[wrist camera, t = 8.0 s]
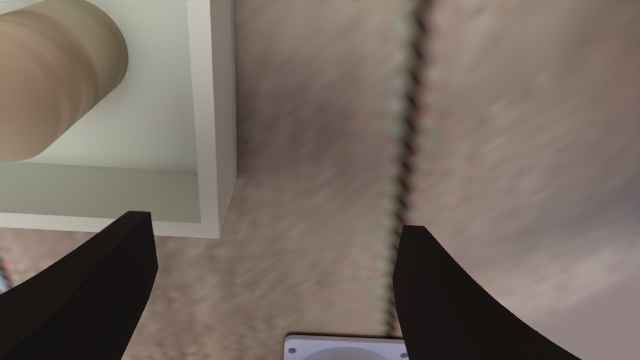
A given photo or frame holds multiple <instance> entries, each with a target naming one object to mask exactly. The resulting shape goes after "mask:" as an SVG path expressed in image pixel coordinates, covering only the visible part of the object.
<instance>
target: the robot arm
mask: <svg viewBox="0 0 640 360" xmlns="http://www.w3.org/2000/svg"><path fill="white" fill-rule="evenodd" d="M157 271H158V262H157V255H156V247H155V240H154V232H153V225H152V218H151V212H147V211H127V212H126V213H124V214H123V215H122V216H120V217H119V218H117V219H116V220H115V221H113V222H112V223H111V224H109V225H108V226H107V227H105V228H104V229H103V230H101V231H100V232H98V233H97V234H96V235H94V236H93V237H92V238H90V239H89V240H87V241H86V242H85V243H83V244H82V245H80V246H79V247H78V248H76V249H75V250H73V251H72V252H70V253H69V254H67V255H66V256H64V257H63V258H61V259H60V260H58V261H57V262H55V263H54V264H52V265H51V266H49V267H48V268H46V269H44V270H43V271H41V272H40V273H38V274H36V275H35V276H33V277H31V278H30V279H28V280H26V281H25V282H23V283H21V284H19V285H17V286H15V287H14V288H12V289H10V290H8V291H6V292H4V293H3V294H1V295H0V360H121V358H122V356H123V354H124V352H125V350H126V347H127V345H128V343H129V341H130V339H131V337H132V335H133V332H134V330H135V328H136V326H137V324H138V322H139V320H140V317H141V315H142V313H143V311H144V309H145V306H146V304H147V302H148V300H149V297H150V294H151V291H152V287H153V284H154V281H155V277H156V274H157ZM393 288H394V297H395V304H396V311H397V315H398V319H399V323H400V327H401V331H402V335H403V339H404V340H396V339H373V338H351V337H328V336H306V335H290V336H287V337H286V338H285V343H284V360H581V359H580V358H578V357H576V356H575V355H573V354H571V353H569V352H568V351H566V350H565V349H563V348H561V347H560V346H558V345H556V344H555V343H553V342H552V341H550V340H549V339H547V338H546V337H544V336H543V335H542V334H540V333H539V332H537V331H536V330H534V329H533V328H531V327H530V326H528V325H527V324H526V323H524V322H523V321H522V320H520V319H519V318H518V317H516V316H515V315H514V314H513V313H511V312H510V311H509V310H508V309H506V308H505V307H504V306H503V305H501V304H500V303H499V302H498V301H497V300H495V299H494V298H493V297H492V296H491V295H490V294H489V293H488V292H486V291H485V290H484V289H483V288H482V287H481V286H480V285H479V284H478V283H477V282H476V281H475V280H474V279H473V278H472V277H471V276H470V275H469V274H468V273H467V272H466V271H465V270H464V269H463V268H462V267H461V266H460V265H459V264H458V263H457V262H456V261H455V260H454V259H453V258H452V257H451V256H450V254H449V253H448V252H447V251H446V250H445V249H444V248H443V247H442V246H441V244H440V243H439V242H438V241H437V240H436V239H435V238H434V237H433V235H432V234H431V233H430V232H429V231H428V230H427V229H426V228H425V227H424V226H414V225H403V228H402V233H401V239H400V244H399V249H398V254H397V259H396V264H395V269H394V274H393Z"/></svg>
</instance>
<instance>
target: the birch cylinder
mask: <svg viewBox="0 0 640 360" xmlns="http://www.w3.org/2000/svg"><path fill="white" fill-rule="evenodd" d="M128 60H129V58H128V49H127V45H126V42H125V39H124V37H123V35H122V33H121V31H120V29H119V28H118V26H117V25H116V24H115V22H114V21H113V20H112V19H111V18H110V17H109V16H108V15H107V14H106V13H105V12H104V11H103V10H101V9H100V8H98V7H97V6H95V5H93V4H92V3H90V2H87V1H85V0H44V1H41V2H38V3H35V4H32V5H29V6H26V7H23V8H20V9H17V10H14V11H11V12H7V13H4V14H1V15H0V161H4V162H15V161H23V160H27V159H30V158H33V157H35V156H37V155H39V154H40V153H42V152H43V151H44V150H46V149H47V148H48V147H49V146H50V145H51V144H52V143H54V142H55V141H56V140H57V139H58V138H59V137H60V136H62V135H63V134H64V133H65V132H66V131H67V130H68V129H69V128H71V127H72V126H73V125H74V124H75V123H76V122H77V121H78V120H80V119H81V118H82V117H83V116H84V115H85V114H86V113H87V112H89V111H90V110H91V109H92V108H93V107H94V106H95V105H97V104H98V103H99V102H100V101H101V100H102V99H103V98H104V97H106V96H107V95H108V94H109V93H110V92H111V91H112V90H113V89H115V88H116V87H117V86H118V85H119V84H120V83H121V81H122V80H123V78H124V77H125V74H126V72H127V68H128Z"/></svg>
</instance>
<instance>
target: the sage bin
mask: <svg viewBox="0 0 640 360" xmlns="http://www.w3.org/2000/svg"><path fill="white" fill-rule="evenodd" d="M41 1H44V0H0V15H1V14H4V13H7V12H11V11H14V10H17V9H20V8H23V7H26V6H29V5H32V4H35V3H38V2H41ZM85 1H87V2H90V3H92V4H93V5H95V6H97V7H98V8H100V9H101V10H103V11H104V12H105V13H106V14H107V15H108V16H109V17H110V18H111V19H112V20H113V21H114V22H115V24H116V25H117V26H118V28H119V29H120V31H121V33H122V35H123V37H124V39H125V42H126V45H127V49H128V58H129V60H128V68H127V72H126V74H125V77H124V78H123V80H122V81H121V83H120V84H119V85H118V86H117V87H116V88H115V89H113V90H112V91H111V92H110V93H109V94H108V95H107V96H106V97H104V98H103V99H102V100H101V101H100V102H99V103H98V104H97V105H95V106H94V107H93V108H92V109H91V110H90V111H89V112H87V113H86V114H85V115H84V116H83V117H82V118H81V119H80V120H78V121H77V122H76V123H75V124H74V125H73V126H72V127H71V128H69V129H68V130H67V131H66V132H65V133H64V134H63V135H62V136H60V137H59V138H58V139H57V140H56V141H55V142H54V143H52V144H51V145H50V146H49V147H48V148H47V149H46V150H44V151H43V152H42V153H40V154H39V155H37V156H35V157H33V158H30V159H27V160H23V161H15V162H4V161H0V227H11V228H30V229H48V230H67V231H85V232H100V231H101V230H103V229H104V228H105V227H107V226H108V225H109V224H111V223H112V222H113V221H115V220H116V219H117V218H119V217H120V216H122V215H123V214H124V213H126V212H127V211H147V212H151V218H152V225H153V232H154V235H159V236H177V237H196V238H214V239H219V238H220V235H221V232H222V228H223V225H224V221H225V218H226V214H227V211H228V208H229V204H230V201H231V197H232V194H233V190H234V187H235V184H236V180H237V124H236V59H235V0H85Z"/></svg>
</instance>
